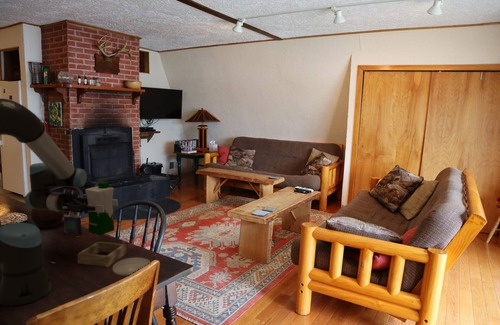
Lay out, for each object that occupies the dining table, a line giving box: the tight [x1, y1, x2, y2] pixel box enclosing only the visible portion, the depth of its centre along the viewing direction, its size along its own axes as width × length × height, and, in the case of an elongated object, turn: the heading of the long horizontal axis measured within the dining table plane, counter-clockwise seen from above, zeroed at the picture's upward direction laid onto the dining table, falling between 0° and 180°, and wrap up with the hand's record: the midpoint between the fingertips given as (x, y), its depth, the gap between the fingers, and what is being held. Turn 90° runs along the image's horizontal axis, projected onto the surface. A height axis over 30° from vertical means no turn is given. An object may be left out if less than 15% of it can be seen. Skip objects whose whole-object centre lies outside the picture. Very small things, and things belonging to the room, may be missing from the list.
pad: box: [112, 257, 151, 277], centre depth 139 cm, size 14×14×1 cm
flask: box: [63, 211, 83, 236], centre depth 174 cm, size 9×3×11 cm, turn 76°
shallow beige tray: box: [77, 241, 128, 268], centre depth 147 cm, size 13×13×4 cm
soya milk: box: [84, 181, 116, 236], centre depth 144 cm, size 9×9×20 cm
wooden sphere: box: [30, 208, 65, 229], centre depth 183 cm, size 15×15×15 cm
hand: (110, 205), depth 143 cm, fingers closed on soya milk, 9 cm apart
